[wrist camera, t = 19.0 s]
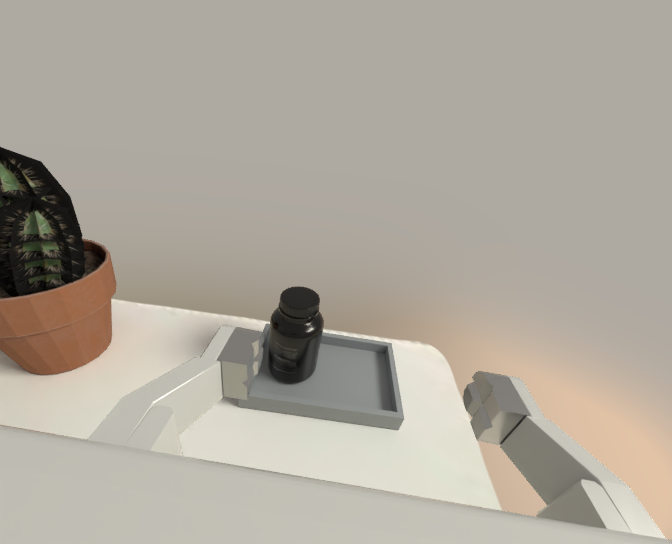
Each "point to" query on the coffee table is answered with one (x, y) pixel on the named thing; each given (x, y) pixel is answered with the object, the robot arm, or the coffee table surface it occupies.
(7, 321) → the potted plant
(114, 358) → the coffee table surface
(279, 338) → the supplement bottle
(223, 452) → the coffee table surface
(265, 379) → the grey serving tray
